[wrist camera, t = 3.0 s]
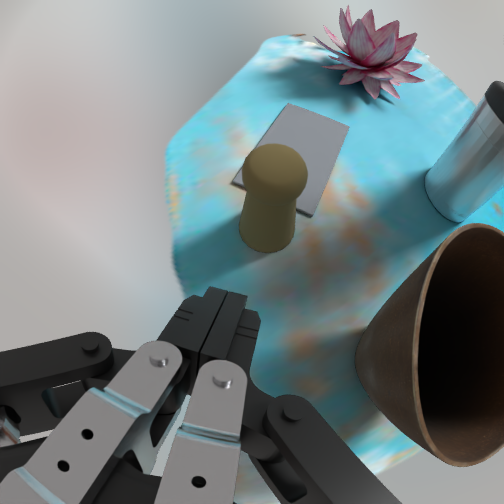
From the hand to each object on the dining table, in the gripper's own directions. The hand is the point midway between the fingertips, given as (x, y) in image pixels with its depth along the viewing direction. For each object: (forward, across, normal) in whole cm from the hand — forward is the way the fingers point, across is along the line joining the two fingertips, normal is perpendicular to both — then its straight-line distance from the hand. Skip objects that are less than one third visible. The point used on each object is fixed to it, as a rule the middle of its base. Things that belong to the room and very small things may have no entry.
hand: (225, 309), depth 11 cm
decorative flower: (+46, -11, -24) cm, 53 cm away
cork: (+20, 0, +3) cm, 20 cm away
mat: (+28, -2, -6) cm, 29 cm away
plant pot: (+12, -16, +10) cm, 22 cm away
